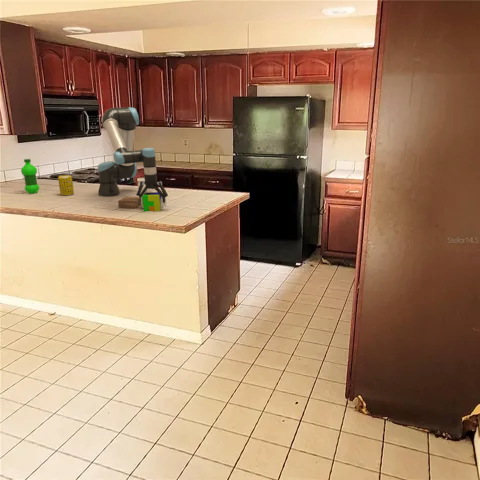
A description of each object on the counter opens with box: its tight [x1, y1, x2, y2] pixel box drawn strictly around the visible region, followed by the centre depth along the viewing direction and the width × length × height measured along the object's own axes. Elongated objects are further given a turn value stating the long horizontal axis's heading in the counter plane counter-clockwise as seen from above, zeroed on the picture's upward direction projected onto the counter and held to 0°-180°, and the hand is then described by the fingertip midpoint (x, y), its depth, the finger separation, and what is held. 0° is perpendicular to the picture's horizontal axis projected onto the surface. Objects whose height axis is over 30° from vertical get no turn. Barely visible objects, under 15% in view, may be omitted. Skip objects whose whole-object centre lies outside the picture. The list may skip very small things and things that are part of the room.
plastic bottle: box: [20, 158, 40, 195], centre depth 314 cm, size 10×10×25 cm
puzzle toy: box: [142, 191, 163, 213], centre depth 266 cm, size 10×10×10 cm
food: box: [57, 174, 75, 196], centre depth 308 cm, size 15×12×10 cm
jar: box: [136, 177, 154, 195], centre depth 290 cm, size 11×10×15 cm
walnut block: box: [117, 196, 142, 209], centre depth 276 cm, size 12×12×5 cm
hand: (153, 207), depth 267 cm, fingers open, 13 cm apart
